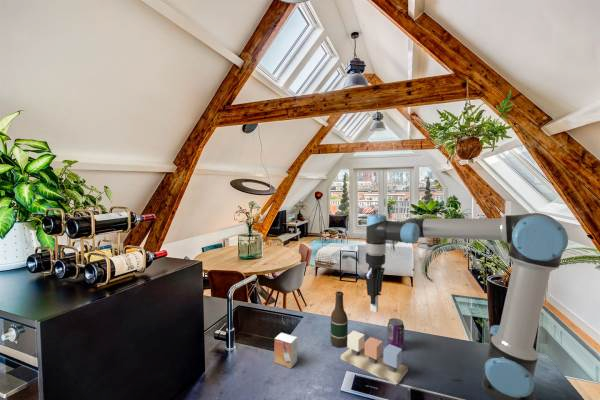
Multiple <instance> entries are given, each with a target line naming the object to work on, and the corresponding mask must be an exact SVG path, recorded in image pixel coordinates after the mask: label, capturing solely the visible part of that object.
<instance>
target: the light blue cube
mask: <svg viewBox="0 0 600 400" xmlns="http://www.w3.org/2000/svg"><path fill="white" fill-rule="evenodd" d="M382 354H383V363H385V364H387V365H390V366H392V367H394V368H397V367H398V366H399V365H400V364H402V363H403V358H402V357H403V349H401V348H398V347H396V346H393V345H390V344H389V345H386V346H385V347H384V348H383V349H382Z"/></svg>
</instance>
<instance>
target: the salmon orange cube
mask: <svg viewBox="0 0 600 400" xmlns="http://www.w3.org/2000/svg"><path fill="white" fill-rule="evenodd" d="M364 349H365V352H364V355H367V356H369V357H371V358H373V359H376V360H377V359H378V358H379V357H380V356H382V354H383V341H382V340H380V339H377V338H374V337H372V336H370V337H368V339H366V340H364Z"/></svg>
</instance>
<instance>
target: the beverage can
mask: <svg viewBox="0 0 600 400" xmlns="http://www.w3.org/2000/svg"><path fill="white" fill-rule="evenodd" d="M386 342H387V343H386V346H388V345H389V344H390V345H393V346H396V347H398V348H401V349H402V350H404V348H405V324H404V321H403V320H401V319H399V318H396V317H395V318H394V317H393V318H392V317H391V318H389V320H388V323H387V339H386Z"/></svg>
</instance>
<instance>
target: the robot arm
mask: <svg viewBox="0 0 600 400" xmlns="http://www.w3.org/2000/svg"><path fill="white" fill-rule="evenodd" d="M365 227H366V231H365V232H366V235H365V237H366V239H365V242H366V243H365V252H366V253H365V263H366V264H368V268H367V269H368V270H367V272H365V273H364V277H365V282H366V292H367V295H368V296H369V297H370V300H369V301H370V303H369V311H370V312H373V313H376V314H377V313H378V312H379V296H381V295H382V293H381V292H382V287H383V282H384V281H383V280H384V279H383V278H384V273H385V267H383V265H385V264H386V252H387V251H386V250H387V248H386V247H387V245H386V243H387V241H390V242H398V243H405V244H417V243H418V241H419V239H420V238H421V239H422V238H423V239H424V238H426V239H427V238H428V239H429V238H430V239H431V238H432V239H452V240H453V239H454V240H455V239H457V240H459V239H460V240H483V241H484V240H485V241H503V242H504V243H505V244H510V246H509V250H508V257H509V259H510V260H511V262H512V266H511V272H510V277H509V279H508V286H507V289H506V291H507V292H506V296H505V300H504V305H503V309H502V313H501V318H500V323H499V324H498V325H497V324H494V325H491V327H490V328H489V329H490V330H489V341H488V342H489V343H488V344H489V345H488V350H487V354H486V355H487V356H486V361H485V363H484V372H485V373H484V374H483V376H482V378H481V379H482V380H481V387H482V388H481V389H483V391H484V393H485V394H486V395H487V396H488V397H489V398H491V399H492V400H536V399H537V397H536V394H535V389H534V388H535V384H536V383H535V377H534V376H535V373H536V372H535V371H536V367H537V363H538V360H539V359H538V358H539V354H538V352H537V351H536V349H535V348H534V345H535V340H536V336H537V331H538V327H539V322H540V320H541V319H540V318H541V314H542V309H543V306H544V302H545V297H546V292H547V287H548V283H549V279H550V274H551V272H553V271H554V270H556V269H559V268H560V264H561V261H562V257H563V254H564V252H565V251H566V249H567V247H568V246H569V245H568V244H569V235H568V233H567V230H566V228H565V227H564V226H563V225H562V224H561V223H560V222H559V221H557V220H556V219H555V218H553V217H552V216H550V215H547V214H544V213H540V212H531V213H523V214H511V215H509V214H508V215H503V216H502V217H500V218H497V217H496V218H494V217H491V218H484V217H483V218H482V217H481V218H418V217H417V218H416V217H411V218H408V219H406V220H402V221H395V220H388V219H387V215H384V214H376V213H375V214H373V213H372V214H368V215H367V216H366V226H365Z"/></svg>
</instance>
